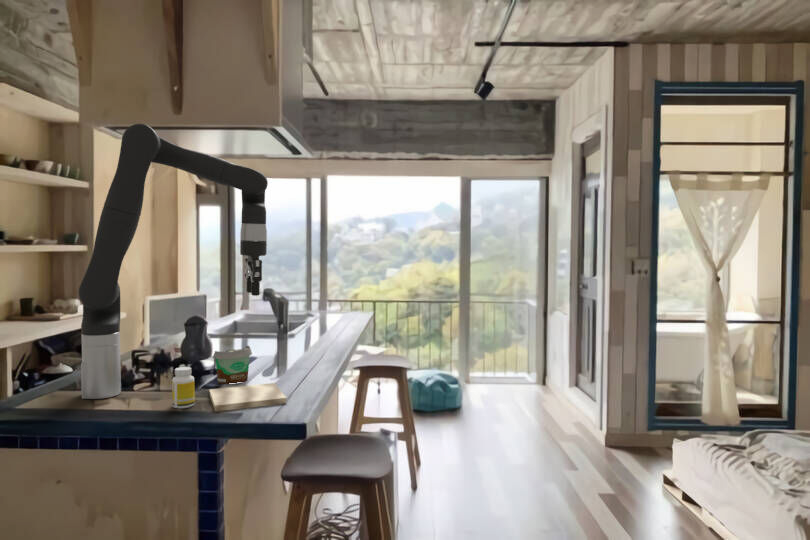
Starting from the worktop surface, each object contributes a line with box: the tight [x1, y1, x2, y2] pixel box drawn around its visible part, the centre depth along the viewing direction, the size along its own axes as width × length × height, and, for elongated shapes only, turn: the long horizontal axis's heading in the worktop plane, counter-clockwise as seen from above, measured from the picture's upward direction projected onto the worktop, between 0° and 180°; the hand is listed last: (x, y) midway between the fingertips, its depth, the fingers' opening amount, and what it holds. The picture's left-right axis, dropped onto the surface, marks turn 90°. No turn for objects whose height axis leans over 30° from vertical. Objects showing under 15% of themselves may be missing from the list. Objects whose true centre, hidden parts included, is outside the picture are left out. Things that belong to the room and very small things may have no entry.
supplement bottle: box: [171, 366, 196, 409], centre depth 145 cm, size 5×5×10 cm
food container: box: [213, 344, 253, 385], centre depth 168 cm, size 12×6×10 cm, turn 143°
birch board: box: [208, 382, 288, 412], centre depth 151 cm, size 18×16×2 cm
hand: (252, 293), depth 166 cm, fingers open, 8 cm apart
